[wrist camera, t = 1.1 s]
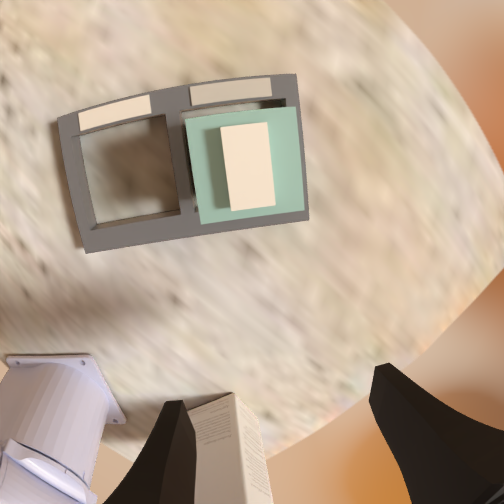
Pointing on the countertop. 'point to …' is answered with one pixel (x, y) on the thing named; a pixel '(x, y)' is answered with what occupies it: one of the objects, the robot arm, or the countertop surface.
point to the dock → (172, 106)
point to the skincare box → (229, 454)
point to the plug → (246, 163)
